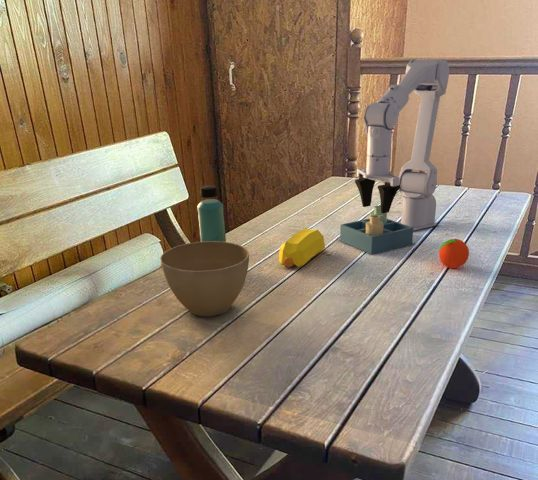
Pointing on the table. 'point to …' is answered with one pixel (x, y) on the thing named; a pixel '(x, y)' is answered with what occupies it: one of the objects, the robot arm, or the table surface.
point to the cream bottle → (374, 226)
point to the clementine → (453, 253)
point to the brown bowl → (206, 275)
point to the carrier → (376, 236)
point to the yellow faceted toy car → (301, 247)
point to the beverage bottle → (211, 216)
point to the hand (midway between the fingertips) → (375, 209)
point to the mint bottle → (378, 212)
